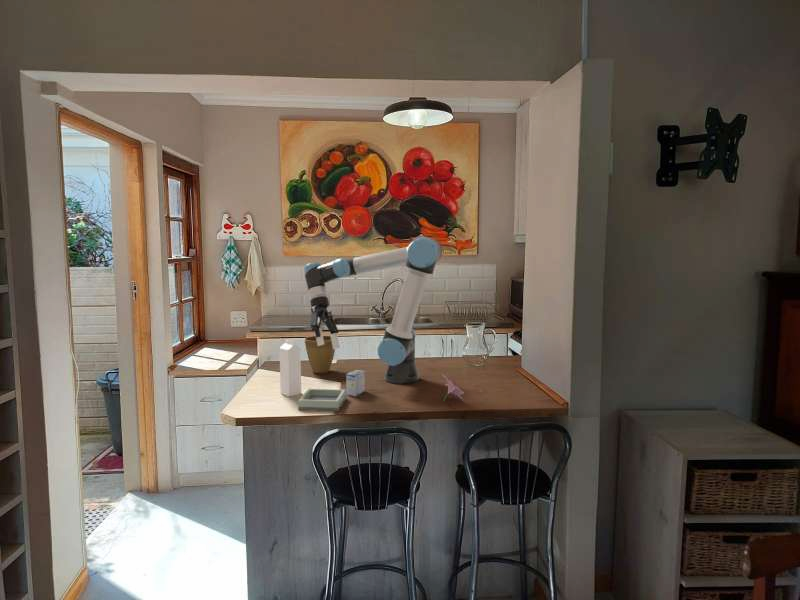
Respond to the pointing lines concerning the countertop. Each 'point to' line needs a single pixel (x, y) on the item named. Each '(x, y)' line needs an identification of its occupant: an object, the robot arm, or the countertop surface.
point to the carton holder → (322, 399)
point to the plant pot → (319, 354)
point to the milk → (290, 369)
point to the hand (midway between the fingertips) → (329, 347)
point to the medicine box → (355, 382)
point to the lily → (452, 388)
